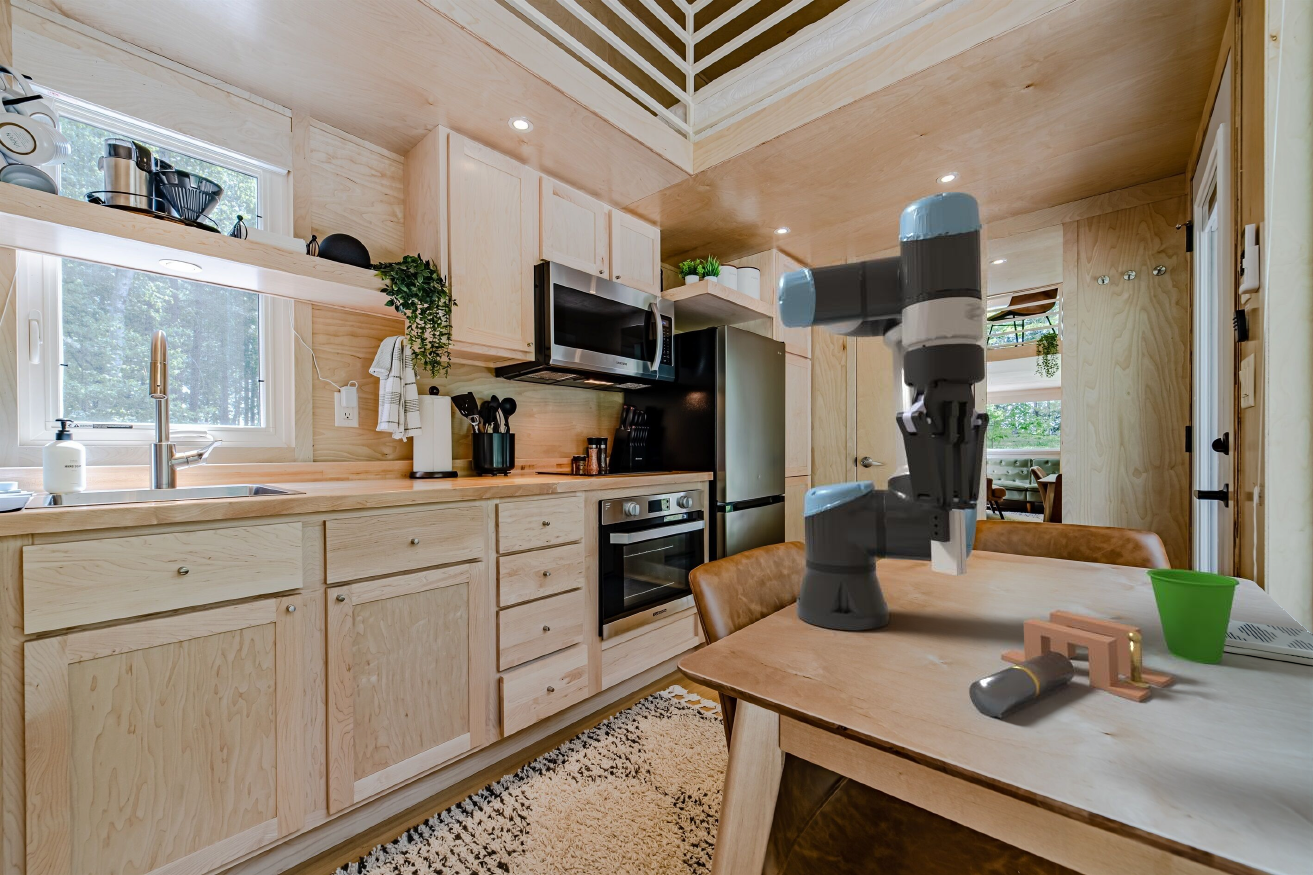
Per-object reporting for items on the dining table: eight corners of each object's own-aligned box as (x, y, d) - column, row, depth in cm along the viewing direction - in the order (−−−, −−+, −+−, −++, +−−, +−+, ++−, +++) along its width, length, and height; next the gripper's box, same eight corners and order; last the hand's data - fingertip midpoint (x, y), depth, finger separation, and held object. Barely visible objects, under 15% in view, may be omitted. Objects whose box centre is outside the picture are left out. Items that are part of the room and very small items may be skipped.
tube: (1003, 722, 57) (1002, 687, 57) (969, 708, 60) (968, 675, 60) (1075, 686, 65) (1074, 656, 65) (1041, 675, 68) (1040, 647, 68)
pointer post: (1119, 683, 66) (1117, 630, 66) (1128, 679, 67) (1125, 626, 67) (1144, 691, 63) (1142, 636, 64) (1153, 686, 65) (1150, 632, 65)
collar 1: (1001, 659, 74) (999, 616, 74) (1013, 654, 75) (1012, 612, 75) (1138, 701, 61) (1136, 650, 61) (1150, 695, 62) (1148, 645, 63)
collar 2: (1027, 648, 77) (1026, 608, 77) (1039, 644, 79) (1037, 604, 79) (1162, 687, 64) (1161, 638, 65) (1173, 681, 66) (1171, 633, 66)
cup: (1264, 672, 68) (1260, 585, 68) (1180, 667, 70) (1176, 582, 70) (1206, 646, 77) (1203, 569, 77) (1133, 642, 79) (1130, 567, 79)
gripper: (938, 334, 50) (946, 589, 49) (1014, 346, 57) (1021, 570, 56) (870, 348, 56) (876, 573, 56) (945, 357, 63) (951, 558, 63)
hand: (949, 571), depth 56 cm, fingers closed
